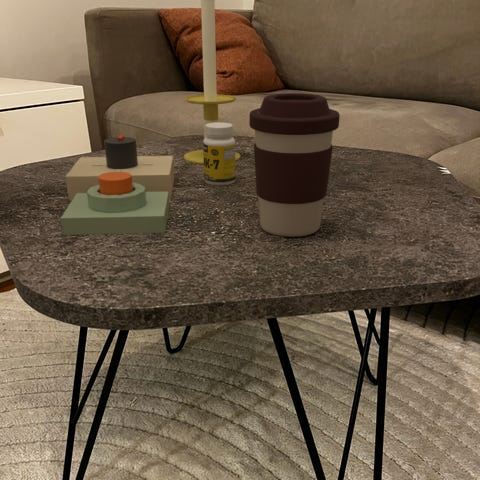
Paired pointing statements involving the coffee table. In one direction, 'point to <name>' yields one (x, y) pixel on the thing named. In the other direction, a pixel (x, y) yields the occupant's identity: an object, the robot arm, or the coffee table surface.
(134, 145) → the knob
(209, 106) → the candle
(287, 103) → the coffee cup
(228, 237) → the coffee table surface
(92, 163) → the panel
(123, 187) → the power button
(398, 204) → the coffee table surface
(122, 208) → the button housing
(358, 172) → the coffee table surface
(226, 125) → the supplement bottle
